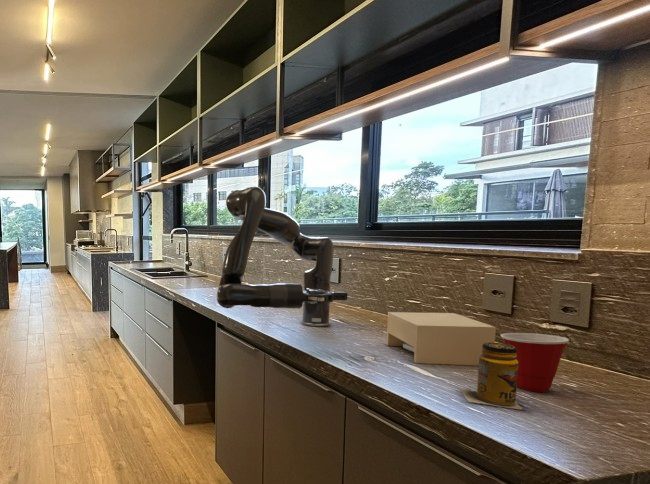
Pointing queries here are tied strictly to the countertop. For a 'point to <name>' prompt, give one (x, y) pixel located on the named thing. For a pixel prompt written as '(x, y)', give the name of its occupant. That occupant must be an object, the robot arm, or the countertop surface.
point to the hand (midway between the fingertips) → (346, 296)
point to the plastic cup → (536, 358)
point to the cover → (439, 336)
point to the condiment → (496, 376)
